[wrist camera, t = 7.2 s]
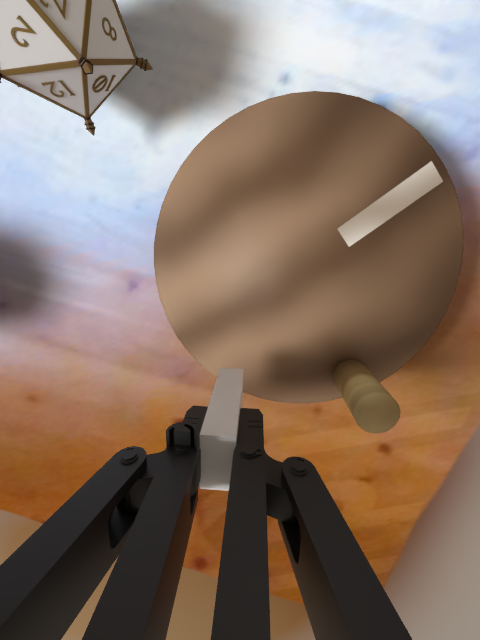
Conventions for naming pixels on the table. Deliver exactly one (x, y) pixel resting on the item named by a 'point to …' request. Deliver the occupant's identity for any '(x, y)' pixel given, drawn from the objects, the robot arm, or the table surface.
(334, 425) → the table surface
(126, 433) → the table surface
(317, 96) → the turntable
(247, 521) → the robot arm
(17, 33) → the game die
